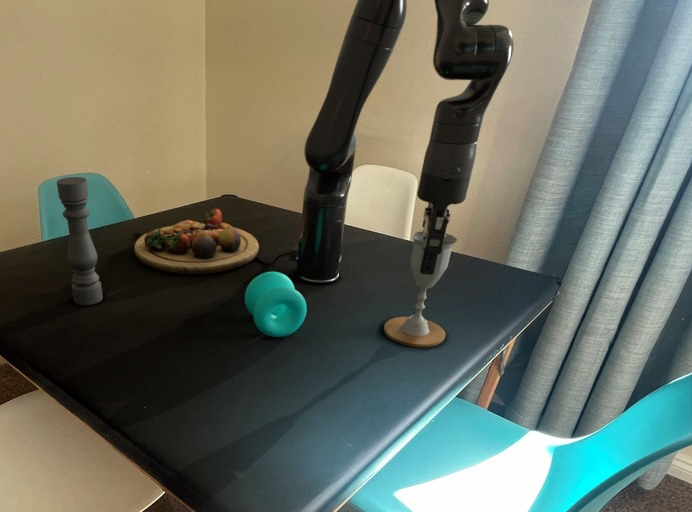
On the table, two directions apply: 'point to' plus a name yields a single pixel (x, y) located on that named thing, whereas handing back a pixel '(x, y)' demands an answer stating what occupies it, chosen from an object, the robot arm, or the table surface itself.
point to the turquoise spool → (275, 304)
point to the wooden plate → (197, 246)
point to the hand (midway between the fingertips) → (425, 264)
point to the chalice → (425, 279)
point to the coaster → (396, 334)
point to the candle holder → (80, 241)
